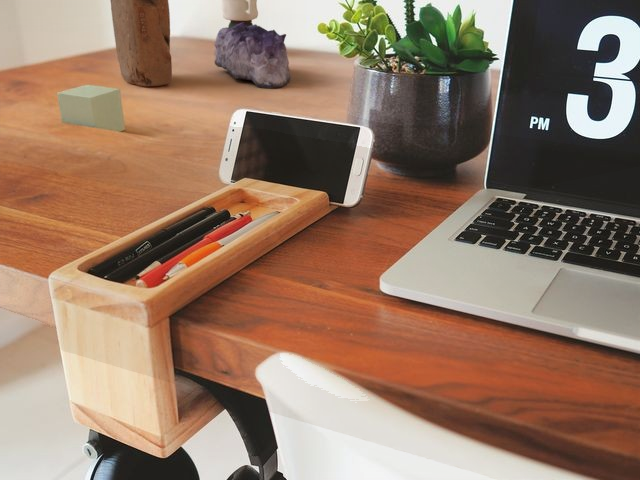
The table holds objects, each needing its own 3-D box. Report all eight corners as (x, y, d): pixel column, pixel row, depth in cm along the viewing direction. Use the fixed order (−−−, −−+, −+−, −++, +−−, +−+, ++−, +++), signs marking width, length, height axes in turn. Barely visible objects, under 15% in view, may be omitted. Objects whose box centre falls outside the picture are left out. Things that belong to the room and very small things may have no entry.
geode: (315, 85, 125) (308, 26, 119) (253, 100, 120) (243, 39, 115) (267, 59, 140) (260, 6, 135) (211, 72, 135) (201, 17, 130)
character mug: (269, 55, 148) (267, -13, 142) (238, 58, 144) (234, -12, 139) (246, 47, 156) (243, -18, 150) (215, 49, 152) (211, -17, 146)
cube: (63, 134, 95) (56, 92, 92) (93, 124, 99) (87, 84, 97) (97, 140, 93) (90, 97, 90) (125, 129, 97) (120, 88, 95)
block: (117, 78, 126) (100, -48, 116) (159, 74, 129) (146, -48, 120) (137, 90, 118) (121, -43, 109) (181, 86, 121) (169, -44, 112)
